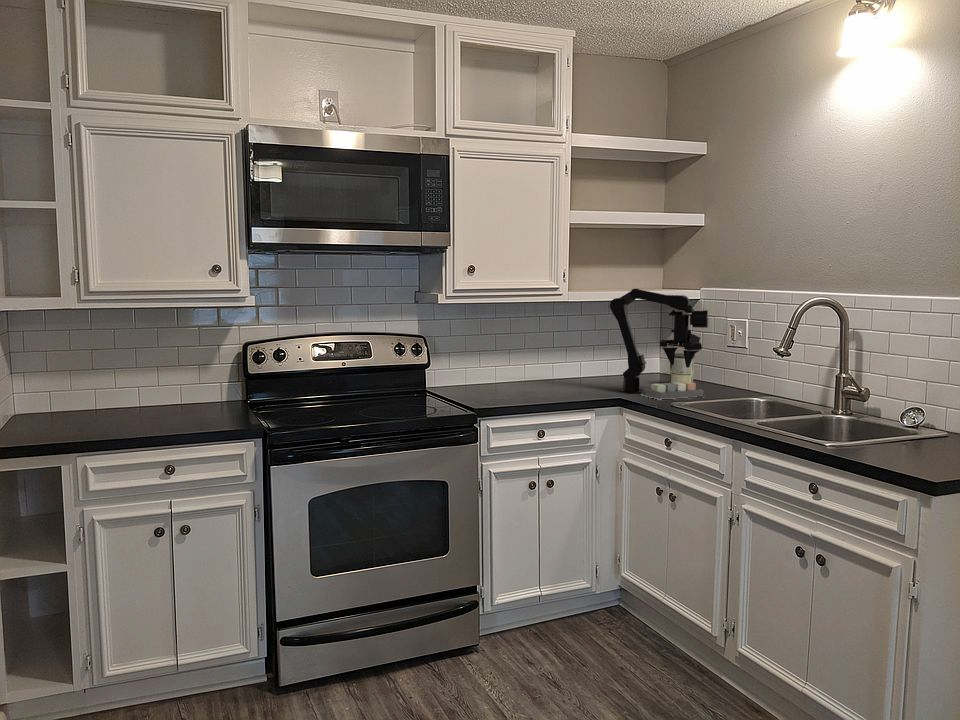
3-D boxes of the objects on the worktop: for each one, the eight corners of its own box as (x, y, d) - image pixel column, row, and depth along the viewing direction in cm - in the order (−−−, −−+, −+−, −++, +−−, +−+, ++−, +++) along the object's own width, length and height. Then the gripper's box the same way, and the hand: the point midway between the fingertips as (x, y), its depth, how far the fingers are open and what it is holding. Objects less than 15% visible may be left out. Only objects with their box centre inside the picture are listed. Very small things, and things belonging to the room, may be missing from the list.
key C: (670, 390, 315) (671, 382, 315) (678, 389, 317) (679, 382, 317) (677, 391, 312) (678, 384, 312) (685, 391, 314) (685, 383, 313)
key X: (660, 390, 313) (661, 383, 313) (668, 390, 315) (669, 383, 314) (667, 392, 309) (668, 385, 309) (675, 392, 311) (675, 384, 311)
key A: (650, 391, 311) (651, 384, 310) (658, 391, 312) (658, 383, 312) (657, 393, 307) (657, 385, 307) (665, 392, 309) (665, 385, 309)
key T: (680, 389, 318) (681, 382, 317) (688, 389, 320) (688, 382, 319) (687, 391, 314) (688, 383, 314) (695, 390, 316) (695, 383, 316)
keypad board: (640, 395, 313) (640, 388, 313) (686, 393, 324) (686, 385, 324) (658, 400, 303) (659, 392, 303) (705, 397, 314) (705, 389, 314)
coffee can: (663, 385, 345) (665, 353, 343) (684, 384, 348) (686, 353, 346) (676, 388, 335) (678, 356, 333) (697, 388, 338) (699, 355, 336)
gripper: (713, 328, 307) (711, 367, 308) (681, 325, 323) (680, 362, 325) (691, 328, 302) (689, 369, 303) (659, 326, 318) (658, 364, 320)
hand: (679, 366), depth 313 cm, fingers open, 9 cm apart
